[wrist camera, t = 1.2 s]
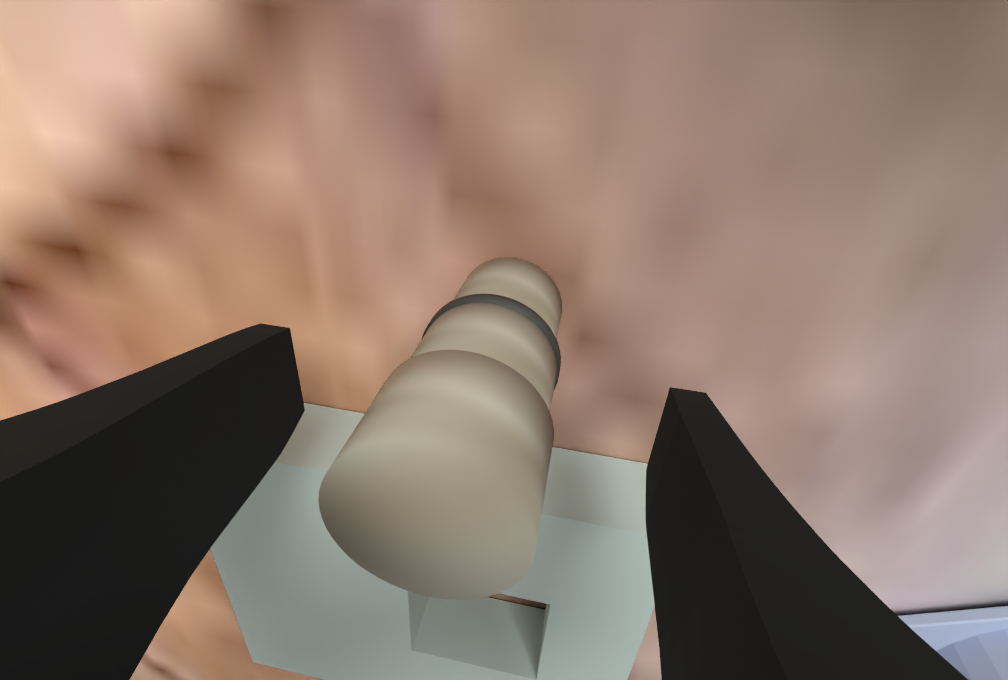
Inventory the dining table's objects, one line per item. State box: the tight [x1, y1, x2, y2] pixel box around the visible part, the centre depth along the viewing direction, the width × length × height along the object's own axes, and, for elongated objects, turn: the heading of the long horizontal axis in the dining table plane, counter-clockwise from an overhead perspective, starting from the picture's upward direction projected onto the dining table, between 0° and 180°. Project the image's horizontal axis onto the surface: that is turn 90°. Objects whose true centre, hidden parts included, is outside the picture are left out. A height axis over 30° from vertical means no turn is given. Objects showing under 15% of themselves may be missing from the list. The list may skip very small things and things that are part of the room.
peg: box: [318, 257, 562, 600], centre depth 10 cm, size 3×3×7 cm
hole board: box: [210, 403, 655, 680], centre depth 18 cm, size 14×12×2 cm
